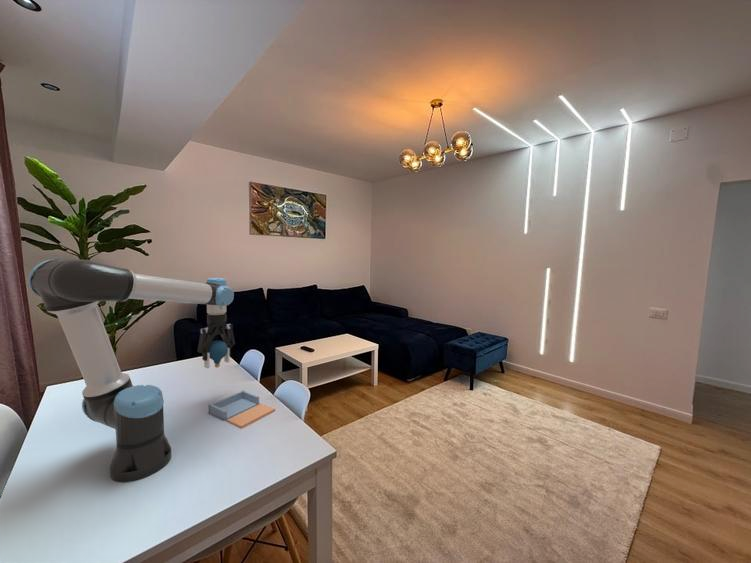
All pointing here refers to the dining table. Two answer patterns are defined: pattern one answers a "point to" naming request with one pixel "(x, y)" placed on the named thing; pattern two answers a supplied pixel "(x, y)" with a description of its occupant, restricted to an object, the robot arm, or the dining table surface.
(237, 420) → the panel
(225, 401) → the blue-grey shallow rectangular box
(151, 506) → the dining table surface
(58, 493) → the dining table surface
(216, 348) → the light bulb
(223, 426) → the dining table surface
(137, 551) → the dining table surface
